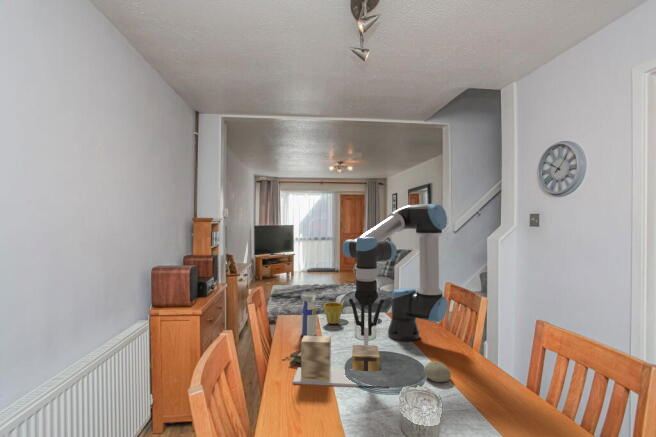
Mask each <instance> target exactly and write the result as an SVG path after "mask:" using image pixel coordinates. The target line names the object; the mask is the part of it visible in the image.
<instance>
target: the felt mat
mask: <svg viewBox="0 0 656 437" xmlns="http://www.w3.org/2000/svg"><path fill="white" fill-rule="evenodd" d="M292 384H293V385H313V386H315V385H316V386H337V387H359V386H358V385H357V384H356V383H354V382H352V381H351V380H349V379H348V378H347V377H346V375H345V368H331V372H330V378H329V379H306V378H301V367H300V366H299V367H297V369H296V372H295V374H294V377H293V380H292Z"/></svg>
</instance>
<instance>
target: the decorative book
mask: <svg viewBox="0 0 656 437" xmlns="http://www.w3.org/2000/svg"><path fill="white" fill-rule="evenodd" d="M289 360H290V361H289ZM281 361H289V362H290V364H291V365H296V366H299V367H301V347H300V348H299V349H298V350H296V351H295V352H292V353H290V355H289V356H287V357H285V358H283V359H281Z"/></svg>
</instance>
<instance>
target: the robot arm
mask: <svg viewBox="0 0 656 437" xmlns="http://www.w3.org/2000/svg"><path fill="white" fill-rule="evenodd" d="M447 223H448V216H447V213H446V210H445V209H444V207H443V205H441V204H438V203H423V204H422V203H421V204H418V203H417V204H407V205H405V206H402V207H400V208H398V209H396V210H393V211H392V212H391V213H389V214H388V216H387V217H386V218H385V219H384V220H383V221H381V222H380V223H378V224H376V225H375V226H373V227H371V228H370V229H368V230H367V231H365V232H364V233H363V234H361V235H360V236H358V237H356V238H355V239H353V238H351V239H346V240H345V241H344V242H342V247H341V249H342V250H341V251H342V254H343V255H344V256H345V257H347V258H351V259H355V260H356V264H355V266H356V267H355V278H356V280H355V293H354V295H353V296H351V297H349V298H348V302H349V304H350V306H351V307H352V311H353V316H354V322H355V324H356V326H359V327H360V336H362V337H363V345H364V346H368V345H369V337H371V336H372V328H373V327H376V326H377V324H378V321H379V316H380V312H381V309H382V306H383V304H384V303H385V300H384V298H383V297H382V298H381V297H380V296H379V294H378V291H377V290H378V281H377V277H378V268H377V267H378V262H384V261H386V262H387V261H390V260H393V259H394V258H395V257H396V255H397V246H396V244H395V243H394V242H392V241H391V240H390V241H388V240H387V239H388V238H389V237H391V236H392V235H394V234H395V233H396V232H402V231H404V230H406V229H407V230H409V229H411V230H415V233H416V235H417V236H418V237H419V239H418V240H419V241H418V244H419V246H418V248H419V251H418V252H419V255H418V256H419V288H418V289H416V288H414V287H405V288H404V287H403V288H402V287H401V288H397V289H393V290H392V291H391V297H390V299H391V320H390V323H389V326H388V330H387V336H388V337H389V338H390V339H391V338H392V339H393V340H397V341H404V342H413V341H417V340H419V338H420V330H419V328H418V324H417V322H416V321H417V319H420V320H425V321H428V322H434V323H439V322H442V321H443V320H444V318H445V317H446V314H447V312H448V306H449V302H448V299H447V298H446V297H445V296H444V295H443V290H441V289H440V270H439V269H440V264H439V263H440V262H439V261H440V258H439V257H440V255H439V253H440V252H439V251H440V250H439V247H440V245H439V240H440V239H439V237H440V236H441V235H442V234H443V230H445V229H446V227H447ZM356 301H357V302H358V304H359V305H360V318H359V314H358V311H357V306H356ZM375 302H376V303H377V305H376V308H375V312H374V317H373V318H372V316H373V315H372V314H373V311H372V310H373V309H372V308H373V306H372V305H374V303H375ZM366 306H367V324H365V311H366V310H365V307H366Z"/></svg>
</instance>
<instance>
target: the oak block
mask: <svg viewBox="0 0 656 437" xmlns="http://www.w3.org/2000/svg"><path fill="white" fill-rule="evenodd" d="M331 338H332V337H331V336H329V335H328V336H325V335H314V336H303V337H302V339H301V342H300V344H301V345H300V346H301V347H300V348H301V378H306V379H329V378H330V372H331V369H332V366H331V365H332V364H331V360H332V358H331V356H332V355H331V354H332V353H331V350H332V349H331V348H332V345H331V344H332V342H331V341H332V339H331Z"/></svg>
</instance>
